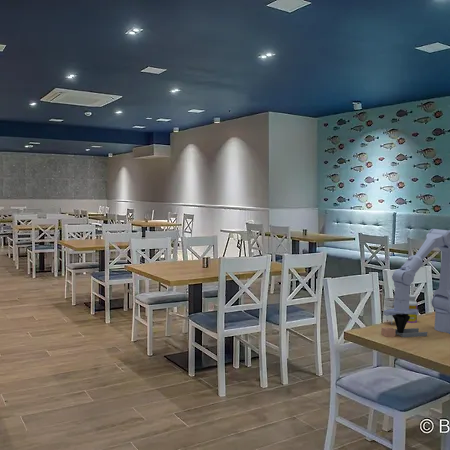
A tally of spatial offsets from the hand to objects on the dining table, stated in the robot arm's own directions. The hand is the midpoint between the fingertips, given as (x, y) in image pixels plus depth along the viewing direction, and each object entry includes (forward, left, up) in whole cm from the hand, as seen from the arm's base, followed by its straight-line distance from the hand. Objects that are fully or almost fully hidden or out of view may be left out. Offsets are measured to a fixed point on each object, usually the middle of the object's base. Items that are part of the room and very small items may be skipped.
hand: (400, 332), depth 204 cm
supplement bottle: (-17, -20, -2) cm, 26 cm away
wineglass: (-6, -16, -2) cm, 17 cm away
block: (+3, 0, 0) cm, 3 cm away
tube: (-5, 0, -2) cm, 5 cm away
